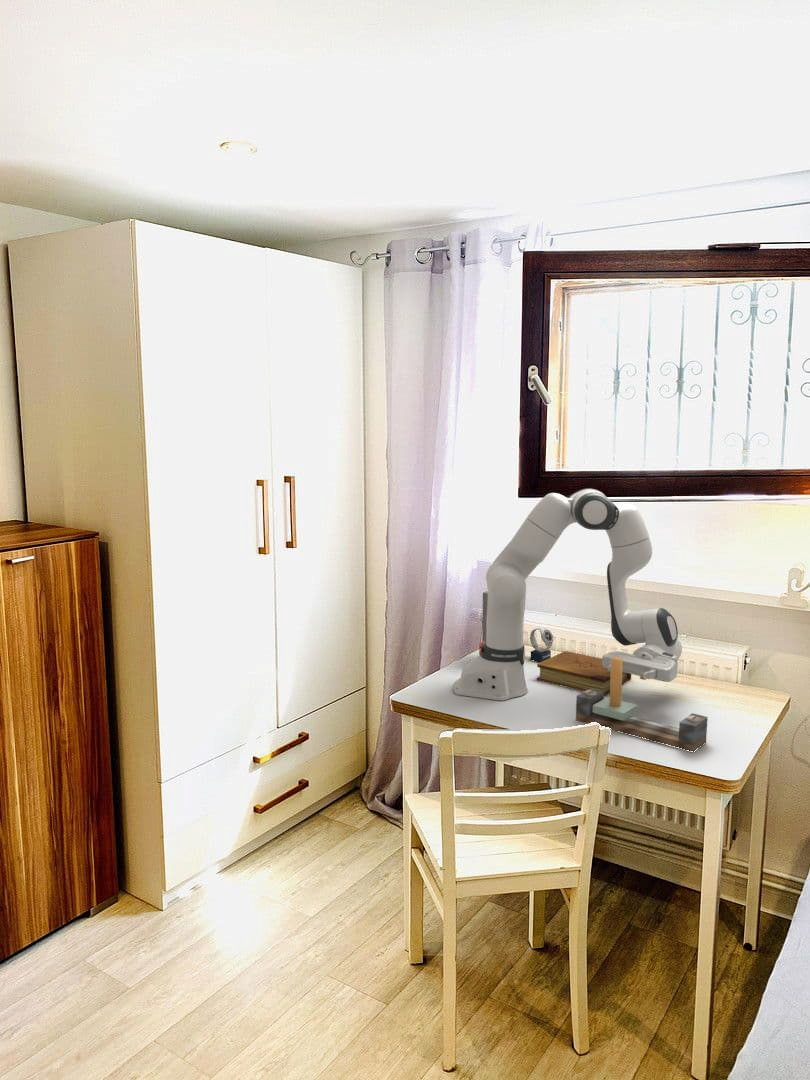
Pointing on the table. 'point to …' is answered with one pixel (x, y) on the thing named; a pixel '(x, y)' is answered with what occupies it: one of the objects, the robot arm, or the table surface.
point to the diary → (577, 672)
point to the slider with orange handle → (615, 696)
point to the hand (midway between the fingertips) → (626, 673)
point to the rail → (645, 724)
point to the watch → (541, 653)
